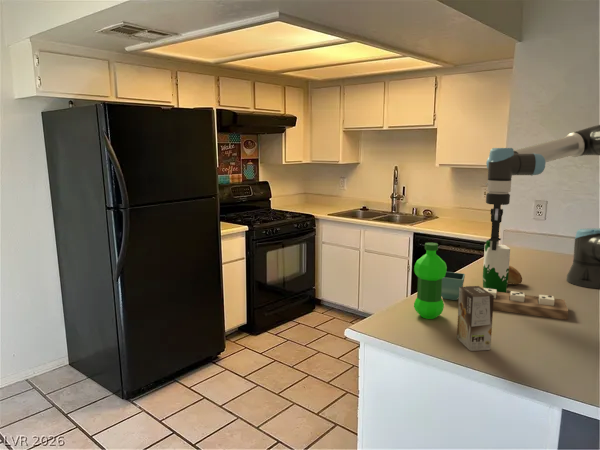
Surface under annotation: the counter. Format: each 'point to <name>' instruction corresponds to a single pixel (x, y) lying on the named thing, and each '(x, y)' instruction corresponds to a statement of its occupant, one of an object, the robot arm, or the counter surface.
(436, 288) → the plastic bottle
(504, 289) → the milk carton
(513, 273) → the bread roll
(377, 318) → the counter surface
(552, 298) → the button two
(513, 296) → the button three
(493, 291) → the button one
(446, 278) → the flower pot
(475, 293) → the coffee box
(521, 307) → the button panel
